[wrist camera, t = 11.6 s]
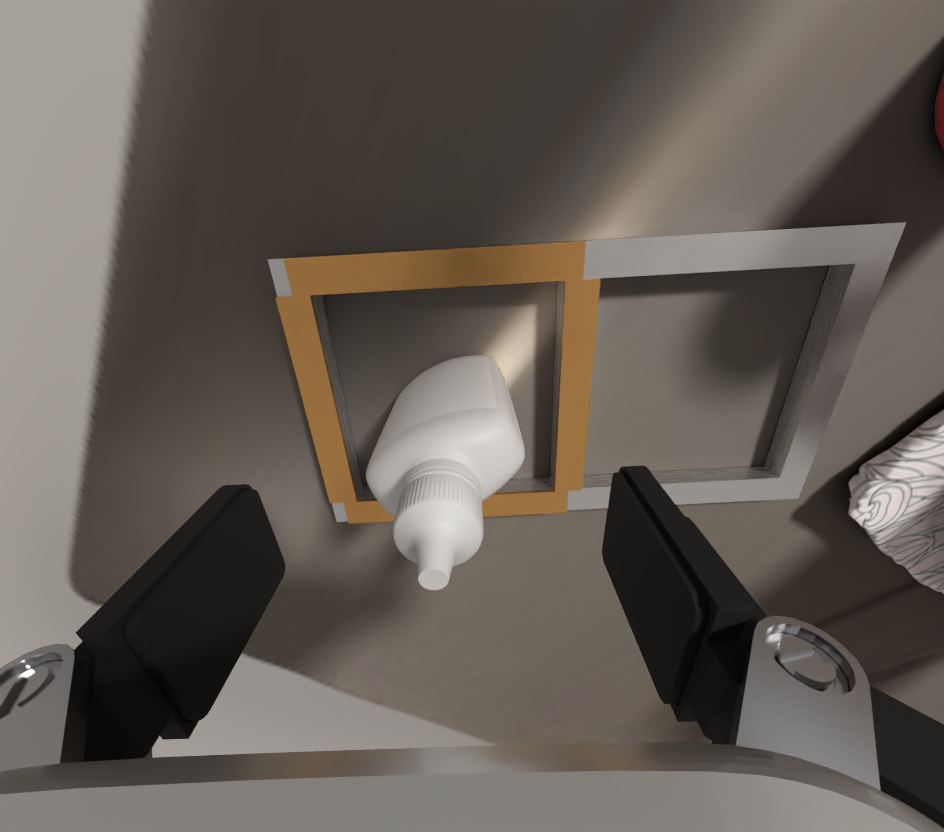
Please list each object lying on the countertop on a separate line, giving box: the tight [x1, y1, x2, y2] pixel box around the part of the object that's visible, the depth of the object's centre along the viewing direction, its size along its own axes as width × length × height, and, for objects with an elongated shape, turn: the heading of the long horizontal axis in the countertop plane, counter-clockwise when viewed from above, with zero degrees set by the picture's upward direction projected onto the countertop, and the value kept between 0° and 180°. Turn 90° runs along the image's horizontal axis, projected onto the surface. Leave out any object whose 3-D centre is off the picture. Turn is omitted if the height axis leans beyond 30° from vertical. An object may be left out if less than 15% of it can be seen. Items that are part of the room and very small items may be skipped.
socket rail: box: [268, 222, 906, 524], centre depth 19 cm, size 14×26×1 cm, turn 93°
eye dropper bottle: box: [366, 355, 525, 590], centre depth 14 cm, size 4×6×12 cm
